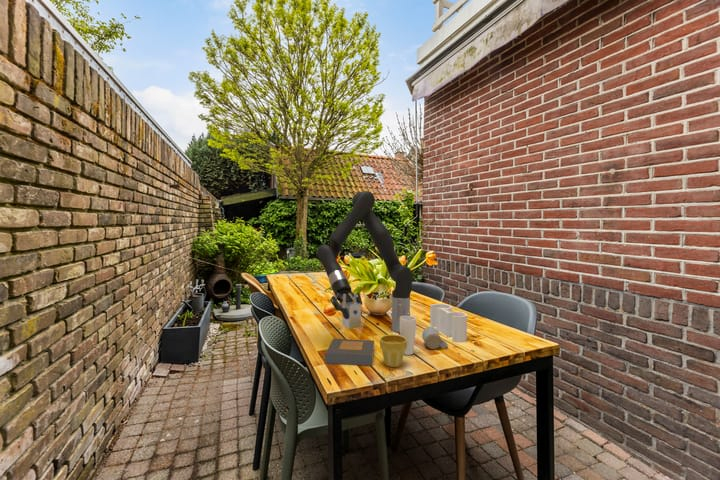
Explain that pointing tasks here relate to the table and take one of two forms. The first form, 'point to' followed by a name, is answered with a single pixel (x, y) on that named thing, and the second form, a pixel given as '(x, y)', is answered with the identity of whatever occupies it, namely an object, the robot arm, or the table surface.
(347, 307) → the aluminium block
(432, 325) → the bracket
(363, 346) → the steel plate
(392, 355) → the plant pot
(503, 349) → the table surface
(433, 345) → the ceramic mug
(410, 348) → the white tube
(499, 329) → the table surface
